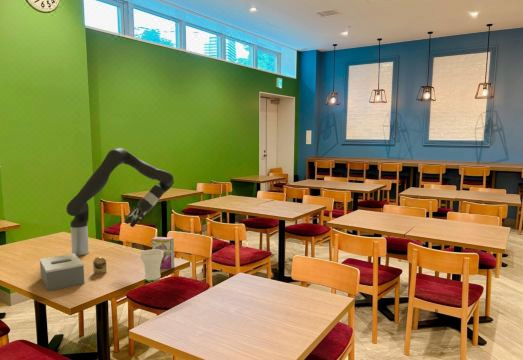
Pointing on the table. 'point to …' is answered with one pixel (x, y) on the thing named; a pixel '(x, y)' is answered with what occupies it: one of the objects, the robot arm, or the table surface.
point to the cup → (152, 263)
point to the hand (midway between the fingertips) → (128, 224)
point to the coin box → (61, 271)
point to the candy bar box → (165, 250)
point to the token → (99, 266)
